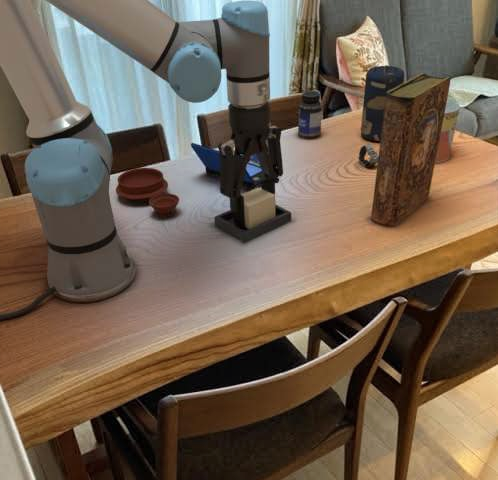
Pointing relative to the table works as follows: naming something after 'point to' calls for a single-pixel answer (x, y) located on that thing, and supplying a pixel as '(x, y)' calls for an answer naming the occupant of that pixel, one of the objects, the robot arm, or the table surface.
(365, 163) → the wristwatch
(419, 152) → the book
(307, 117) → the pill bottle
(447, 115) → the canned food
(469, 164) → the table surface
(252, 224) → the beige rectangular block
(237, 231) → the dark grey tray
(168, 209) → the pottery
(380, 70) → the canister
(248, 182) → the game console
